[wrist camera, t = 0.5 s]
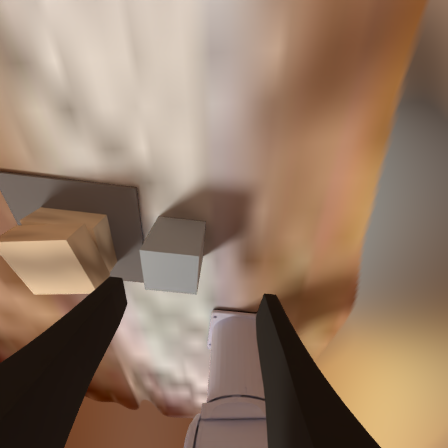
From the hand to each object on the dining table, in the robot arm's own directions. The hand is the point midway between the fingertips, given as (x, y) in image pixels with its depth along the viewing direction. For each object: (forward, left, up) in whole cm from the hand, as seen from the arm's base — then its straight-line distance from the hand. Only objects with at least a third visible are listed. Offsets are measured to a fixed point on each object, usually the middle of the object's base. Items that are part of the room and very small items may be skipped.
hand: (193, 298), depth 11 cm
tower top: (-5, +13, -7) cm, 15 cm away
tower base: (-5, +13, -10) cm, 16 cm away
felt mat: (-5, +13, -10) cm, 17 cm away
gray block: (-4, +3, -10) cm, 11 cm away
